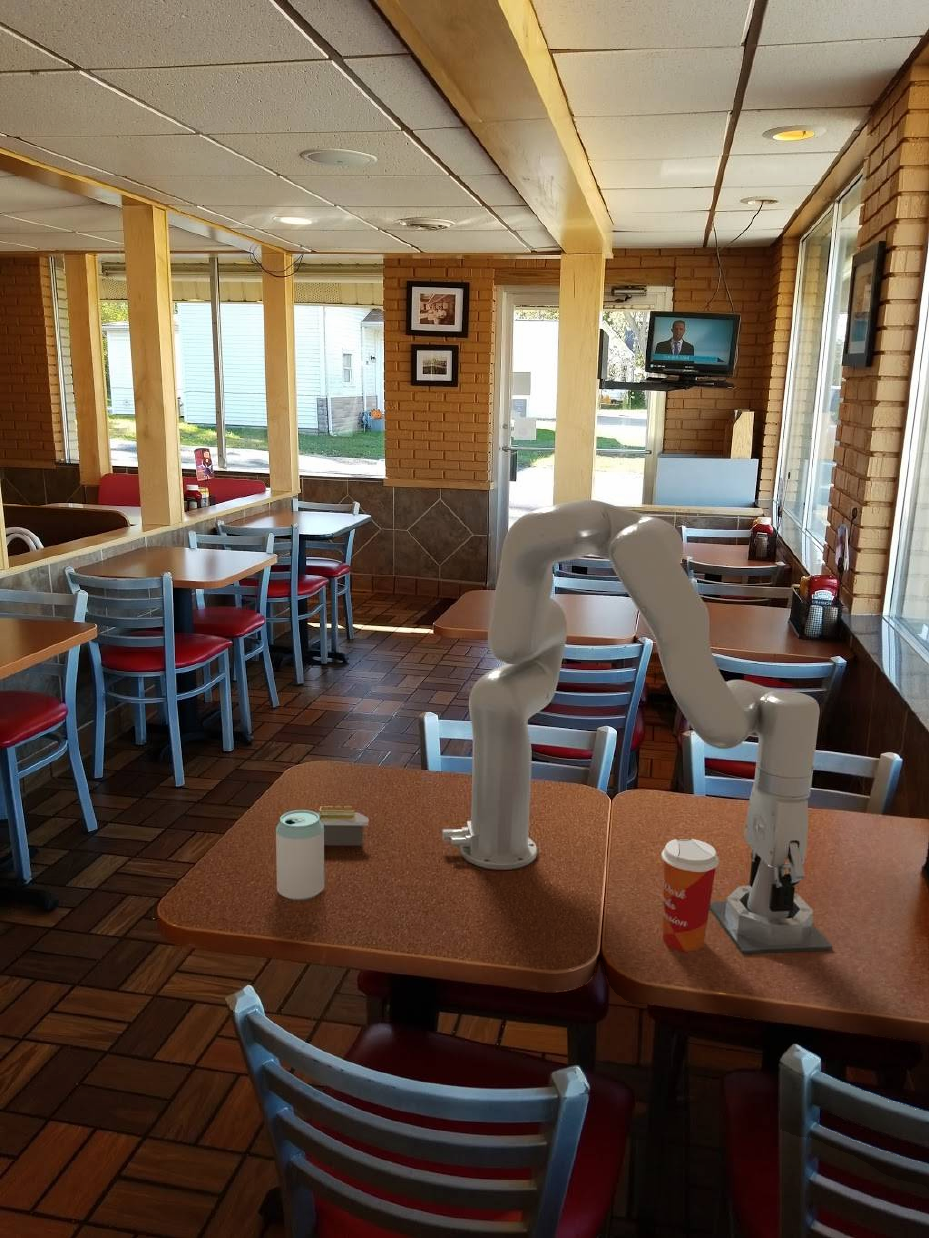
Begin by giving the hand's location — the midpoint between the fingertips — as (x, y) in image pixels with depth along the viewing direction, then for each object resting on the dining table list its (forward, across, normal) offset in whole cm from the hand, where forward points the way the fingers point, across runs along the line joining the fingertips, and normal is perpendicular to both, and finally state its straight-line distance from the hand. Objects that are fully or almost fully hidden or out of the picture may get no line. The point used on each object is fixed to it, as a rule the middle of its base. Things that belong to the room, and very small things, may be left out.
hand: (770, 897), depth 138 cm
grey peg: (+4, 0, 0) cm, 4 cm away
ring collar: (+5, 0, 0) cm, 5 cm away
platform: (+5, -32, -61) cm, 69 cm away
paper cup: (+5, +2, -14) cm, 15 cm away
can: (+5, -16, -67) cm, 69 cm away
